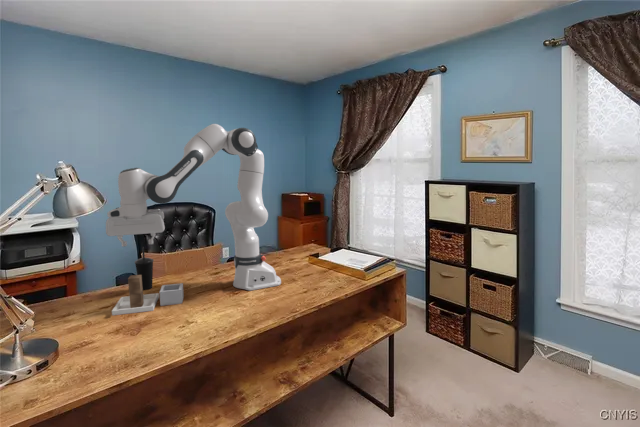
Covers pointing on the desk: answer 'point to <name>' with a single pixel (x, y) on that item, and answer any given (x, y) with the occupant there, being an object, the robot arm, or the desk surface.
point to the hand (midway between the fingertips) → (137, 245)
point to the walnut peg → (135, 291)
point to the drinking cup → (145, 271)
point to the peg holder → (171, 294)
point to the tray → (125, 308)
